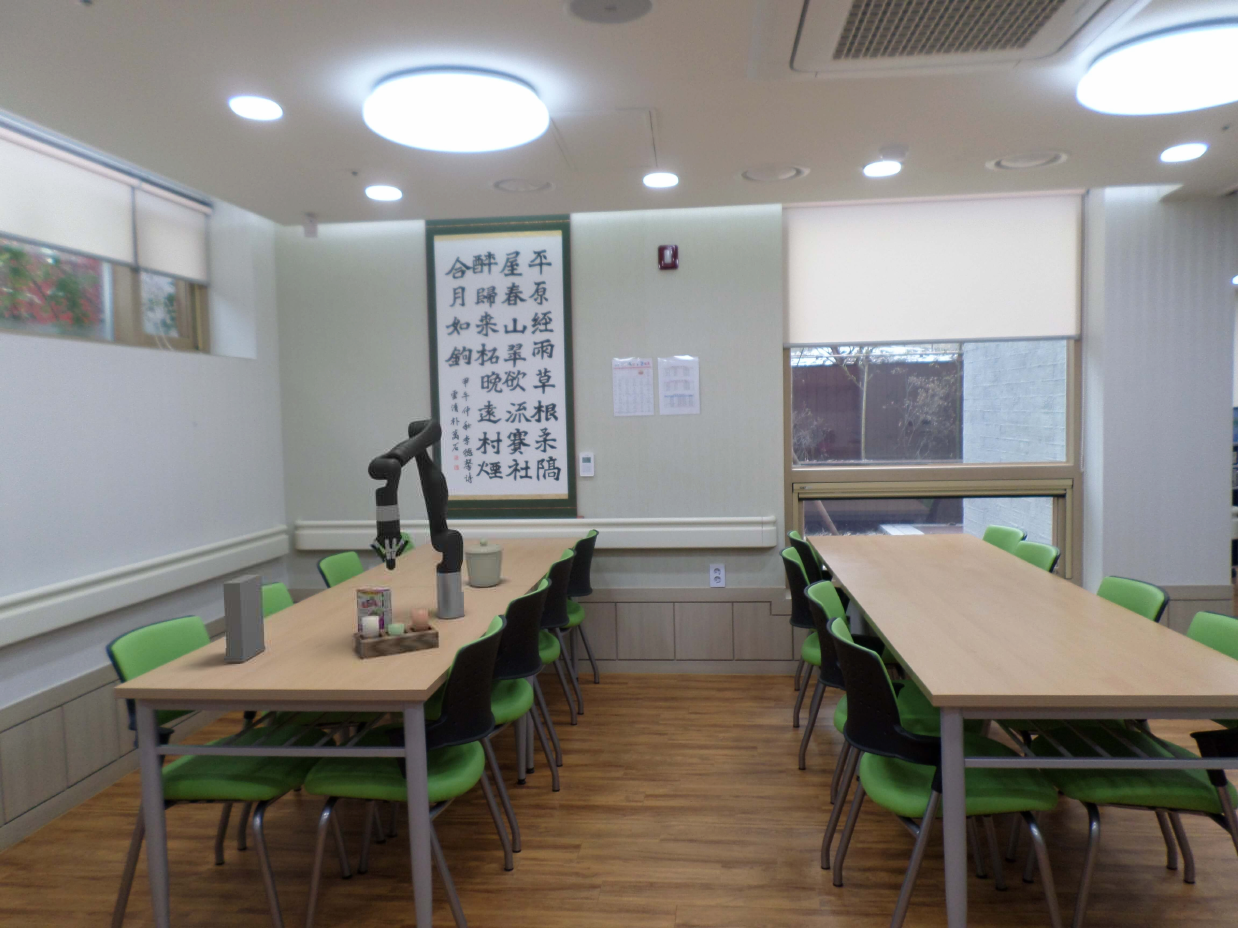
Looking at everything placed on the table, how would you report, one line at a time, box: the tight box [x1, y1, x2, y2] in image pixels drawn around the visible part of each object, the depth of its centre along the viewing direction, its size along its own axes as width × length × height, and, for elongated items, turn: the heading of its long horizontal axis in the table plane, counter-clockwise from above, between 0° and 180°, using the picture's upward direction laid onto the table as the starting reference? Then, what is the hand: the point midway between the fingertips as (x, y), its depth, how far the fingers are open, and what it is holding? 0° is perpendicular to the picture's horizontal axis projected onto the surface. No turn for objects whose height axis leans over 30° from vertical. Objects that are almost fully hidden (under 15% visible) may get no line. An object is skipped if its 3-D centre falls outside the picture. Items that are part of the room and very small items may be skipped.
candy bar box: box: [356, 586, 393, 632], centre depth 269 cm, size 11×5×16 cm, turn 71°
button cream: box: [362, 616, 379, 640], centre depth 249 cm, size 5×5×7 cm
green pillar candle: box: [388, 622, 405, 636], centre depth 253 cm, size 5×5×7 cm
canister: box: [463, 538, 505, 588], centre depth 351 cm, size 18×18×21 cm
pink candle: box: [412, 608, 429, 632], centre depth 257 cm, size 5×5×7 cm
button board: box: [353, 623, 440, 659], centre depth 253 cm, size 24×14×5 cm, turn 118°
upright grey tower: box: [223, 574, 266, 664], centre depth 246 cm, size 14×6×25 cm, turn 178°
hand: (391, 569), depth 260 cm, fingers closed
